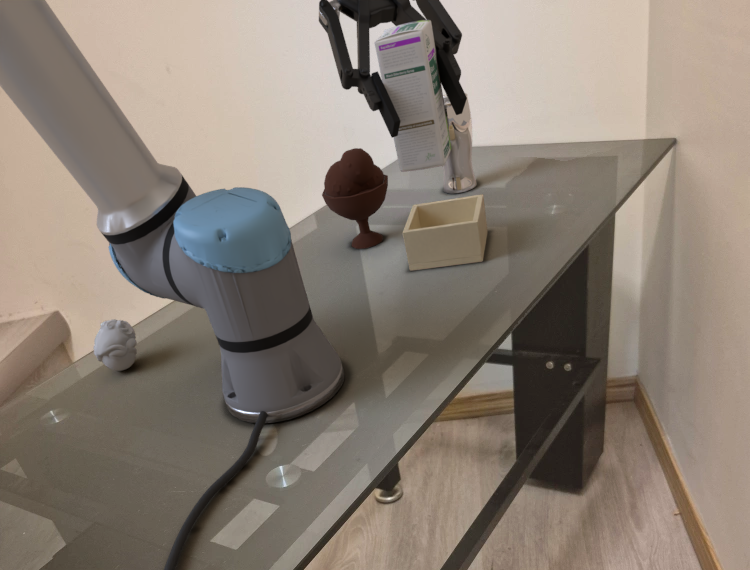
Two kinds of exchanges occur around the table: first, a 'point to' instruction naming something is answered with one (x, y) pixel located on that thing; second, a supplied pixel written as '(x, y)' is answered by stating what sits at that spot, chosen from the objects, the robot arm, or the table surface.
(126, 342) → the frog figurine
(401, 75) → the syrup box
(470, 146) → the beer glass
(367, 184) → the ice cream bowl
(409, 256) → the basket
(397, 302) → the table surface
